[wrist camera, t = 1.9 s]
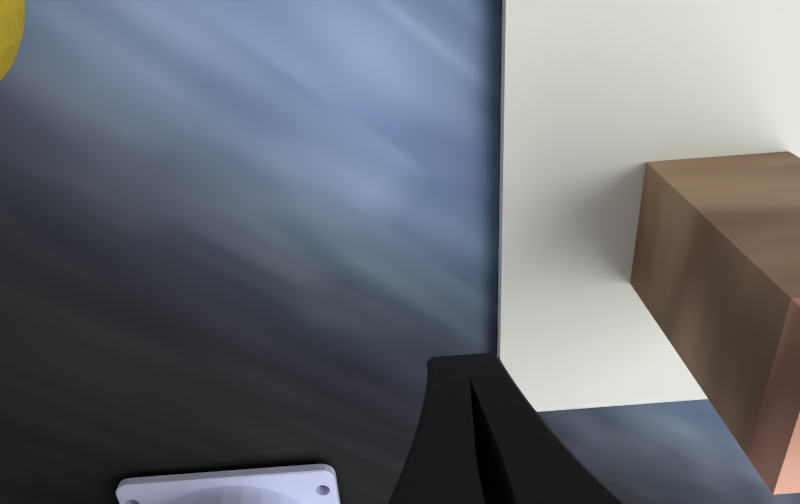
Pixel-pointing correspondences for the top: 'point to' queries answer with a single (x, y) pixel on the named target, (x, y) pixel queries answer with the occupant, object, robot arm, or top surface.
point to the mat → (618, 172)
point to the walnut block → (731, 292)
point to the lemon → (10, 32)
